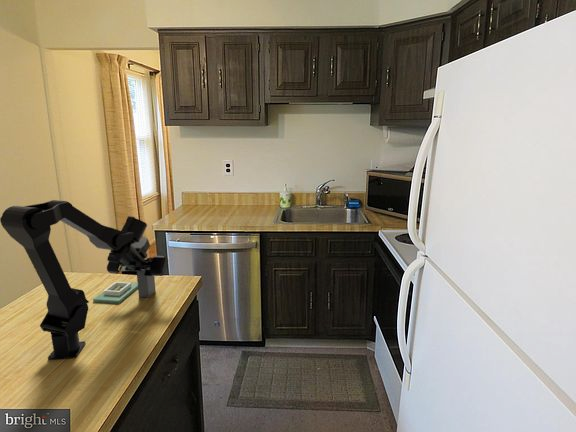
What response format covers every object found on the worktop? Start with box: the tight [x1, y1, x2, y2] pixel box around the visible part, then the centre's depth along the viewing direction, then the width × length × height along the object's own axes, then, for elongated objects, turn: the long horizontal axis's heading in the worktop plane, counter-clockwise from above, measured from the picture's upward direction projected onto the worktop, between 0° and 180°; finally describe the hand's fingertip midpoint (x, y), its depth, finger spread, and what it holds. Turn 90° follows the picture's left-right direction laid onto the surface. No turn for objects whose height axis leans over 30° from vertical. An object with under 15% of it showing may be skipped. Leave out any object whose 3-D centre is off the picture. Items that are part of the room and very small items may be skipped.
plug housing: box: [136, 270, 156, 298], centre depth 121 cm, size 5×4×12 cm
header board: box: [92, 281, 138, 304], centre depth 122 cm, size 14×9×2 cm, turn 174°
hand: (147, 274), depth 122 cm, fingers closed on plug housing, 3 cm apart
